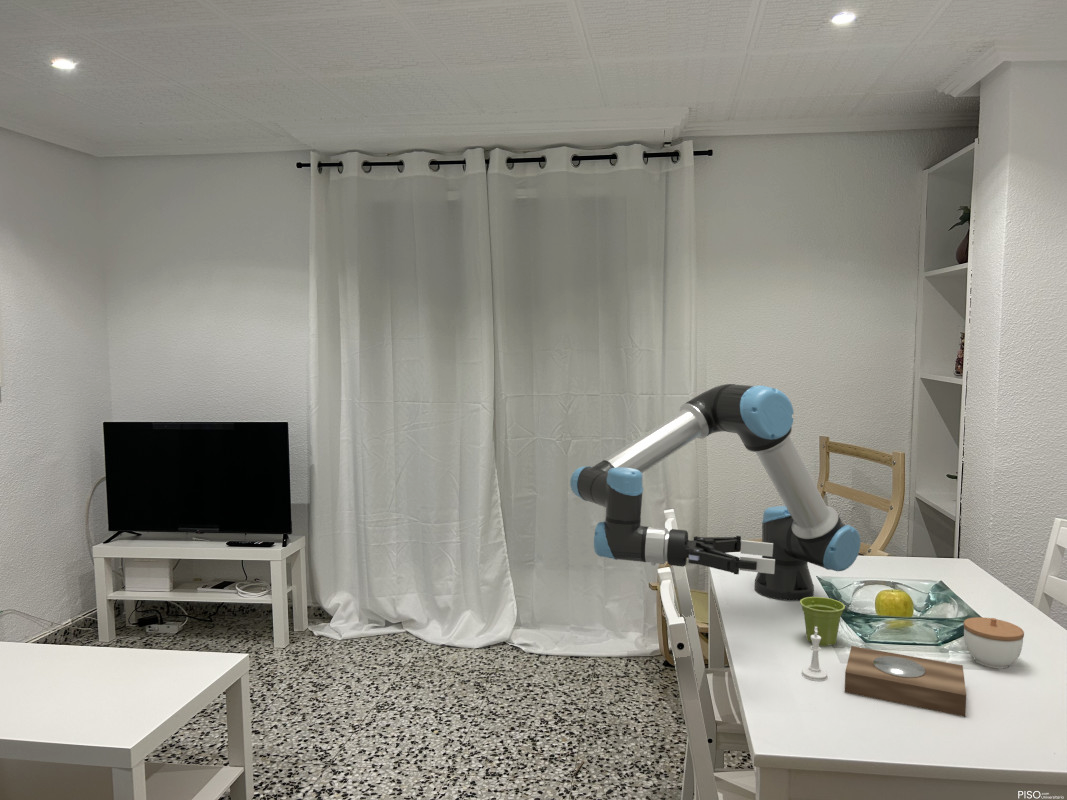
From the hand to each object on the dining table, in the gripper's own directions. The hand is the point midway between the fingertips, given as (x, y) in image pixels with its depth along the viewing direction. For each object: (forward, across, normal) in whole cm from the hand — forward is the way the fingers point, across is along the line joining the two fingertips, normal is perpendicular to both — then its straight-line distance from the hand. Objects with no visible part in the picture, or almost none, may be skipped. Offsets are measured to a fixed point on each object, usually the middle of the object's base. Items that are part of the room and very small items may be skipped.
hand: (773, 558), depth 150 cm
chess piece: (+9, 0, -23) cm, 25 cm away
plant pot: (+12, -19, -22) cm, 32 cm away
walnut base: (+25, +1, -22) cm, 34 cm away
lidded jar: (+45, -17, -22) cm, 53 cm away
